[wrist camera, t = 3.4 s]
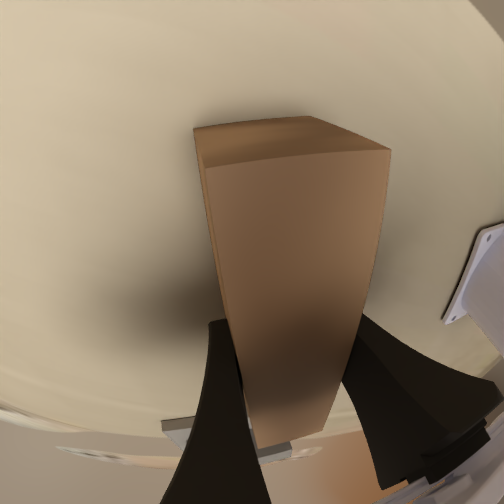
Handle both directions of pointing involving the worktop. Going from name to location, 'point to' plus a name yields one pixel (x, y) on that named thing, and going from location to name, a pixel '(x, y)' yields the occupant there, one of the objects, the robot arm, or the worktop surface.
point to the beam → (292, 257)
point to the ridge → (182, 428)
